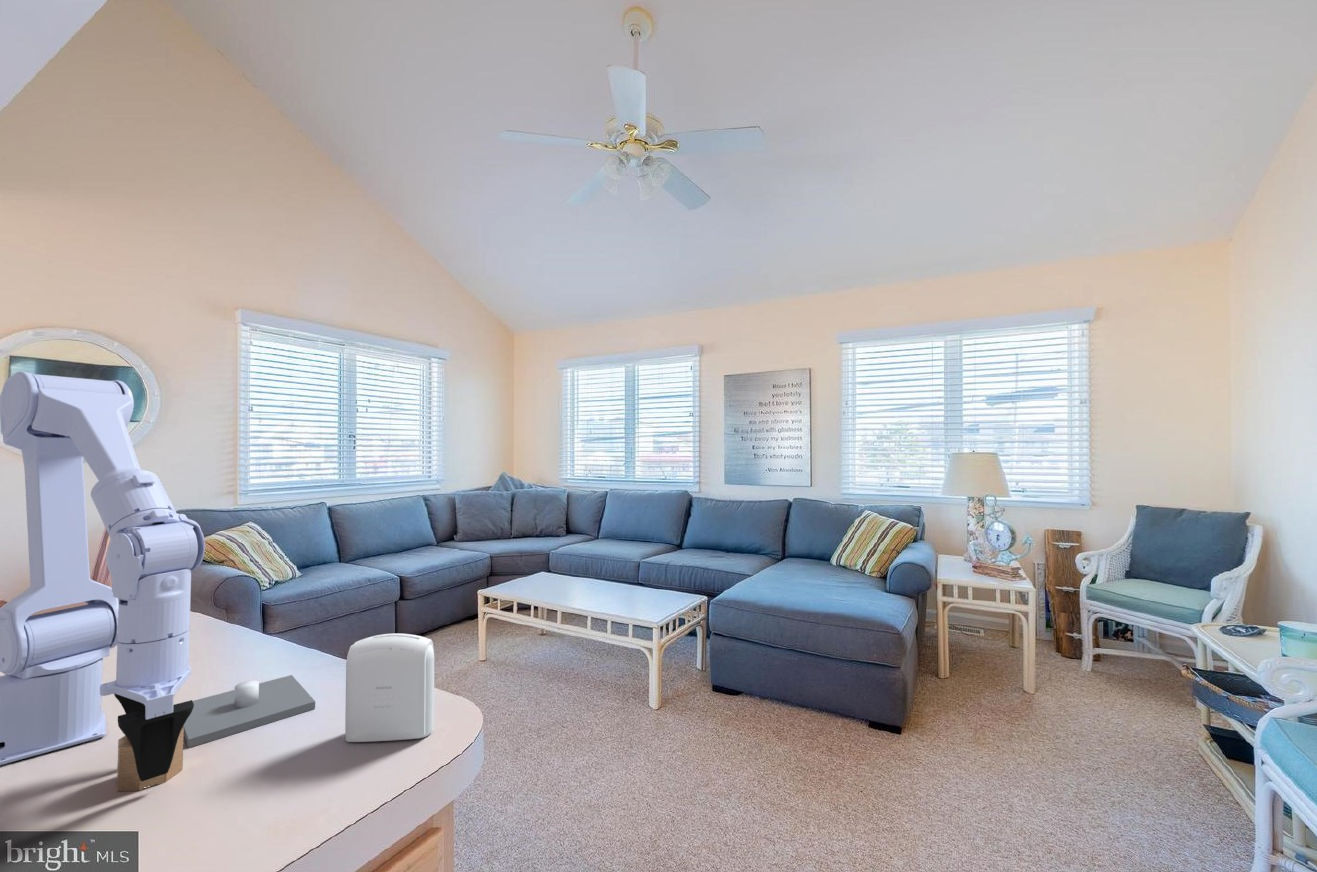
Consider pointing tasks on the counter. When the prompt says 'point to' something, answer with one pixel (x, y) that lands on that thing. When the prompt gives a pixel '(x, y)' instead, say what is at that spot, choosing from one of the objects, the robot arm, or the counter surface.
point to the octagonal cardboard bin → (128, 770)
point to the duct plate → (245, 709)
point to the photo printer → (389, 688)
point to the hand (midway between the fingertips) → (151, 760)
